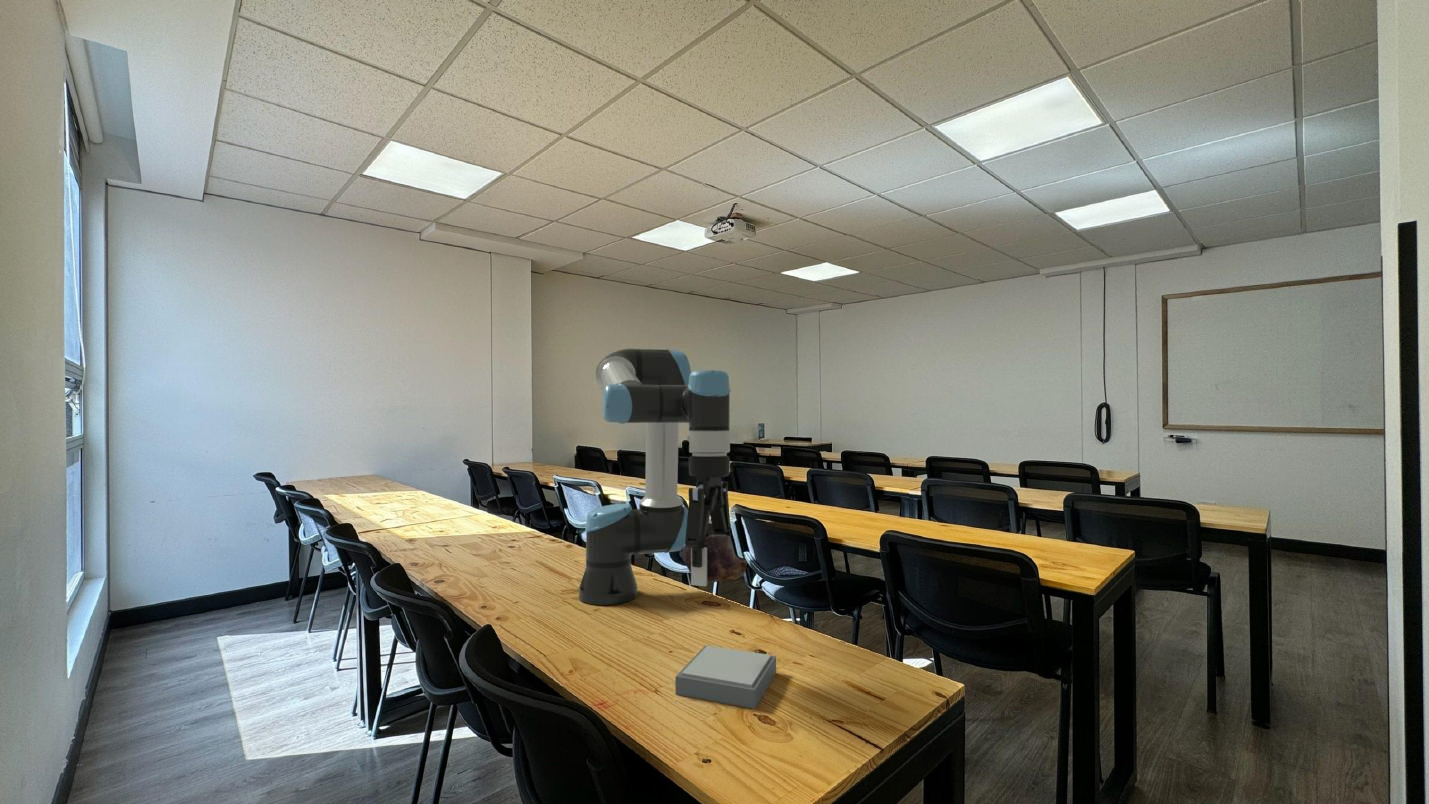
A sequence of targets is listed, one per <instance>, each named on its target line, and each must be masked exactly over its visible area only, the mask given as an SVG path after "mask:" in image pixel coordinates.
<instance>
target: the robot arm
mask: <svg viewBox="0 0 1429 804" xmlns="http://www.w3.org/2000/svg"><path fill="white" fill-rule="evenodd" d="M595 377H596V381H597V383H598V386H599V387H600V388H601V389H602V390H603V391H602V393H603V394H602V414H603V415H602V416H603V419H604V421H606V422H608V423H618V424H620V425H621V424H623V425H624V424H638V423H639V424H640V423H641V424H643V423H644V424H645V423H646V424H645V426H646V427H645V429H646V430H645V480H644V481H645V485H644V486H645V488H644V493H645V495H644V497H642V498H641V500H639V503H638V504H639V506H638V507H639V508H638V509H633V508H632V505H631V504H630V503H615V504H614V503H613V504H609V505H608V504H607V505H602V506H600V507H596V508H593V509H591V510H590V511H589V512H588V513H587V515H586V523H585V530H584V531H585V532H586V533H585V534H586V539H585V569H584V572H583V575H582V578H581V582H580V584H579V587H578V599H579V601H581V602H583V603H585V604H589V605H595V606H608V605H609V606H610V605H620V604H624V603H627V602H630V601H633V600H635V598H637V597H638V592H639V591H638V587H639V586H638V583H637V580H636V576H635V573H634V570H633V567H632V555H644V554H659V553H660V554H662V553H664V554H668V553H671V552H679V551H681V550H683V547H684V546H686V547H688V548H691V572H690V583H691V586H697V587H707V586H708V583H707V548H705V541H706V538H707V536H708V535H707V533H708V529H709V523H710V521H711V527H712V532H713V535H720V534H722V535H724V534H725V535H728V536H730V537H731V536H732V531H731V530H732V526H731V515H730V513H731V512H730V505H729V503H730V502H729V482H728V481H722V478H726V477H728V476H730V472H731V469H730V467H731V465H730V464H731V463H730V462H731V459H730V456H729V455H728V454H729V453H730V452H731V435H730V434H731V433H730V394H731V389H730V377H729V374H728V372H726V371H723V370H714V369H711V370H709V369H706V370H704V369H703V370H695V371H692V369H691V365H690V361H689V359H688V356H687V355H686V354H685V353H684V352H683V351H681V350H674V349H649V348H647V349H646V348H643V349H642V348H624V349H619V350H616V351H614V352H612V353H610V354H607V355H606V356H605V357H603V358H602V359H601V361H599V363H598V365H597V366H596V370H595ZM679 423H681V424H683V423H684V424H685V423H686V424H688V436H687V438H686V439H687V442H688V443H689V445H688V452H689V453H690V454H691V455H689V457H688V474H689V476H690V477H693V478H695V477H696V479H697V480H696V484H695V487H689V488H688V508H687V507H685V506H683V503H684V502H683V500H682V499H681V498H680V497H679V496H678V477H679V476H678V474H679V473H678V469H679V468H678V467H679V465H678V464H679ZM731 538H732V537H731Z"/></svg>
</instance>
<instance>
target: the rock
mask: <svg viewBox="0 0 1429 804" xmlns="http://www.w3.org/2000/svg"><path fill="white" fill-rule="evenodd" d="M705 548H707V584H712V583H713V584H714V583H716V582H725V581H727V582H729V581H731V582H734V581H735V580H737V579H739V578H741V577H742V576H744V574H745V572H746V569H747V566H748V561H747V560H746V559H745V558H744V557H743V558H742V557H741V556H740V557H738V555H736V553H735V549H734V546H733V541H732V537H730V536H728V535H725V534H724V535H722V534H720V535H714V534H711V535H709V536H708V535H707V536H706V541H705ZM681 558H682V559H681V560H682V561H683V562H684V564H685V566H686V567H687V569H688V572H689V573H691V548H688V547H686V546H685V545H684V547H683V548H682V557H681Z"/></svg>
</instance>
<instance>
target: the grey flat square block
mask: <svg viewBox="0 0 1429 804" xmlns="http://www.w3.org/2000/svg"><path fill="white" fill-rule="evenodd" d="M776 674H777V656H776V655H771V654H767V653H766V654H765V653H761V652H753V651H746V650H740V649H733V648H729V647H719V646H714V645H713V646H712V645H704V646H703V647H702V649H700V650H699V651H698V653H696V654H695V656H693V658H692V659H691V660H689V662H687V664H685V666H684V667H683V668H682V669H681V670H680V671H679V672H678V673H677V674H676V675H675V682H674V683H675V686H674V687H675V692H674V693H675V694H674V695H677V696H683V697H688V698H694V699H699V700H703V701H704V700H705V701H709V702H715V703H721V704H726V705H730V706H736V707H743V708H747V709H753V710H756V708H757V706H758V704H759V703H760V701H761V699H762V697H764V695H765V693H766V691H767V689H768V687H769V685H770V684H771V682H772V681H773V679H774V677H775V675H776Z"/></svg>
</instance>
